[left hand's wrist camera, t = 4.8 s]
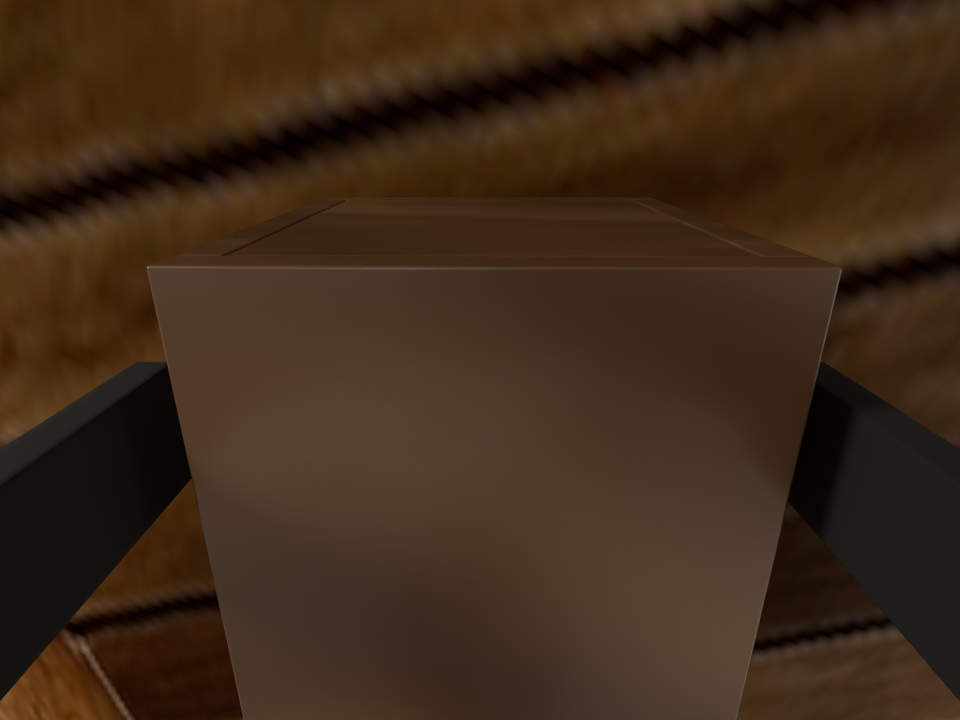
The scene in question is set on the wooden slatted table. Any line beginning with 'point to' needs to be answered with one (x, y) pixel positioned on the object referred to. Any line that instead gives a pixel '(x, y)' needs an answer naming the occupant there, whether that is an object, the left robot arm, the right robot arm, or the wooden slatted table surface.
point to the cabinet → (492, 452)
